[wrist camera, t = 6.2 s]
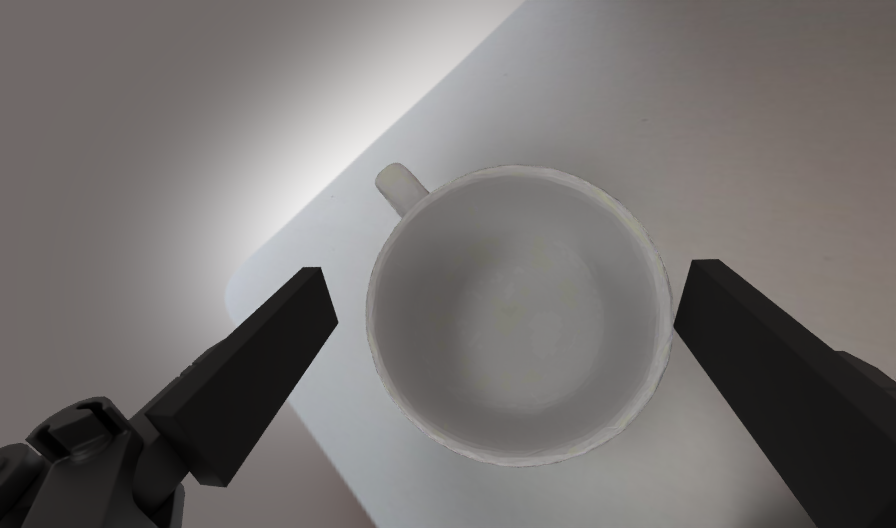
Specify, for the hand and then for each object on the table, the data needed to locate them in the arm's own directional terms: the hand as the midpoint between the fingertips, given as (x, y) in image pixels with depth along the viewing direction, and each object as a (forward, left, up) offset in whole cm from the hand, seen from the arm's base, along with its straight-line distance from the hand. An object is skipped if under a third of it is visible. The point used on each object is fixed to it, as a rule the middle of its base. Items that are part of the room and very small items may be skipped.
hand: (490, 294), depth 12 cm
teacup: (0, +1, -8) cm, 8 cm away
